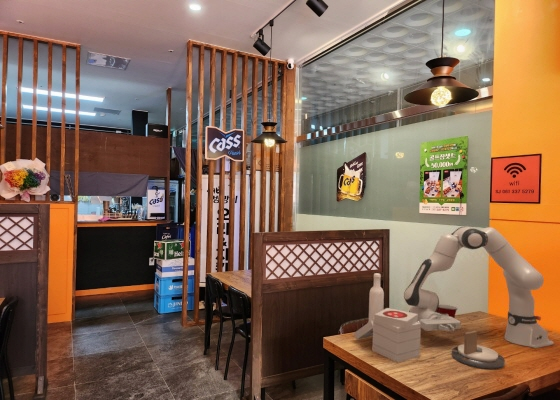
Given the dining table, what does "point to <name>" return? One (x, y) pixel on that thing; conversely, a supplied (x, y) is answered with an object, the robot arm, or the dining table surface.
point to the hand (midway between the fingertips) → (450, 329)
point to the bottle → (376, 298)
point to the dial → (476, 349)
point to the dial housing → (478, 364)
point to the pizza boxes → (393, 334)
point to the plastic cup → (447, 310)
